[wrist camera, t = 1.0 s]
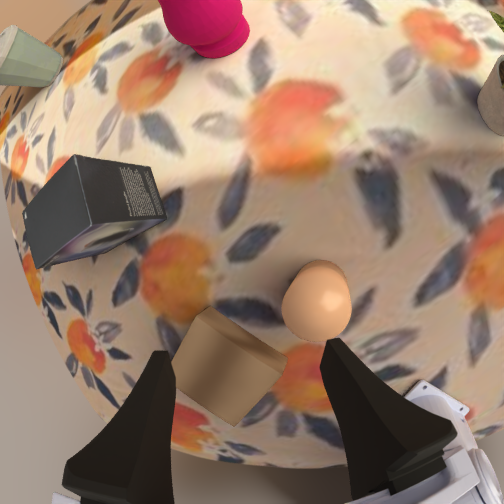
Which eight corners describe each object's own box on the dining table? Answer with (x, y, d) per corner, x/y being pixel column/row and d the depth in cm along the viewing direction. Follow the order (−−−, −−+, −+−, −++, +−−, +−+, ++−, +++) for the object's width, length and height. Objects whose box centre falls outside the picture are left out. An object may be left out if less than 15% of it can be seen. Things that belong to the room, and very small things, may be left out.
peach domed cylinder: (358, 279, 22) (365, 300, 17) (327, 321, 23) (324, 353, 18) (313, 249, 23) (306, 261, 17) (284, 293, 24) (268, 317, 19)
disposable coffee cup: (58, 44, 30) (1, 23, 16) (80, 47, 28) (12, 20, 14) (32, 92, 33) (-27, 80, 19) (50, 104, 31) (-22, 89, 17)
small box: (105, 257, 30) (34, 273, 20) (90, 207, 30) (20, 210, 20) (170, 221, 27) (90, 229, 17) (150, 164, 26) (72, 149, 16)
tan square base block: (288, 358, 25) (282, 374, 22) (243, 410, 27) (234, 426, 24) (210, 305, 26) (195, 316, 24) (177, 364, 29) (163, 377, 26)
